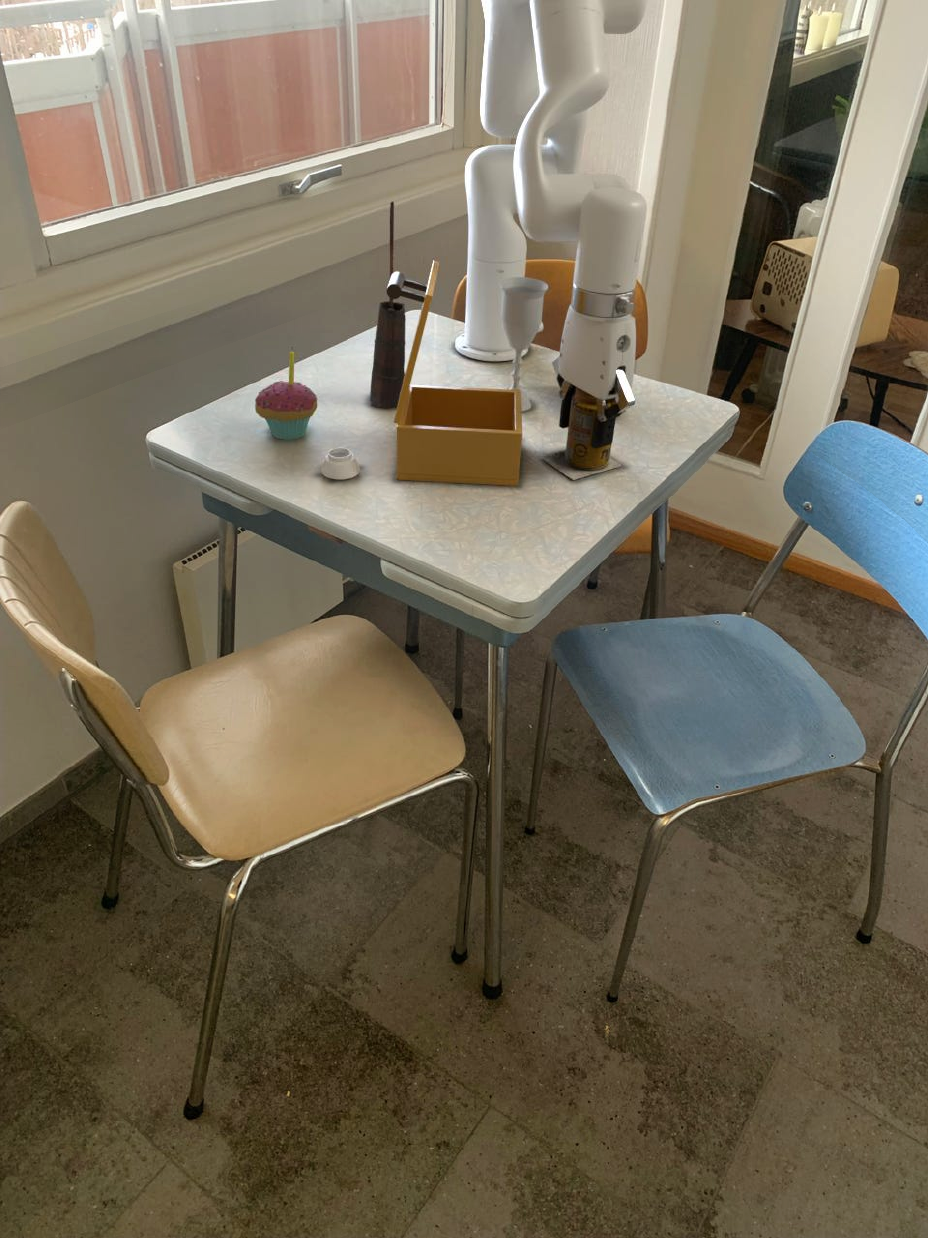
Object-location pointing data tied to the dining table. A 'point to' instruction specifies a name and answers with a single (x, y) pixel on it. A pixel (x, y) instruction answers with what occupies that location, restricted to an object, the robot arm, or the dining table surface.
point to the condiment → (582, 441)
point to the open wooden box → (460, 435)
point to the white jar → (340, 464)
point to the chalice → (521, 320)
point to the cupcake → (287, 406)
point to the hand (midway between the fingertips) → (585, 434)
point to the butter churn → (389, 346)
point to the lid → (395, 292)
